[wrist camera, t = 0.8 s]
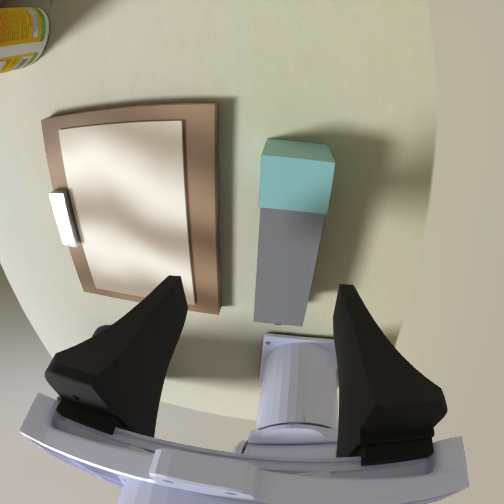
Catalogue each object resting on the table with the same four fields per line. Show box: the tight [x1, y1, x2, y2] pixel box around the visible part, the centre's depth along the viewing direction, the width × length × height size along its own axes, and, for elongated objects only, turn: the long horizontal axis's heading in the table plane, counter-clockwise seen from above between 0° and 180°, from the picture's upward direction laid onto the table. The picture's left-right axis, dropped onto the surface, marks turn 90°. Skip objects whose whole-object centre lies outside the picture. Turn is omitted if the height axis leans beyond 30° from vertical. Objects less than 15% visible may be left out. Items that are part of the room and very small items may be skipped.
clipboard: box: [41, 102, 221, 315], centre depth 22 cm, size 17×14×2 cm
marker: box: [254, 138, 335, 326], centre depth 20 cm, size 14×4×4 cm, turn 178°
